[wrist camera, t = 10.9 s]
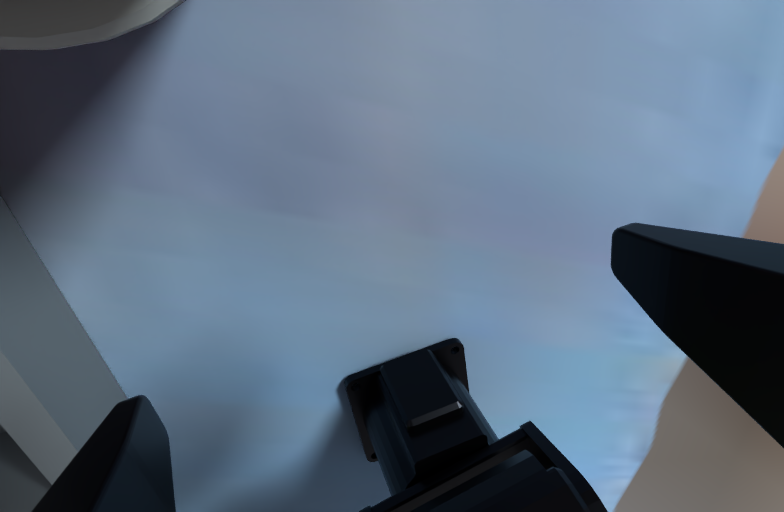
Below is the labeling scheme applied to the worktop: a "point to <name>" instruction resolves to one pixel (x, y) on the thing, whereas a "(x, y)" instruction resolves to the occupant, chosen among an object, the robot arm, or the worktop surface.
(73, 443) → the pocket board
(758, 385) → the robot arm
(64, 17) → the canned food
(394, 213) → the worktop surface
